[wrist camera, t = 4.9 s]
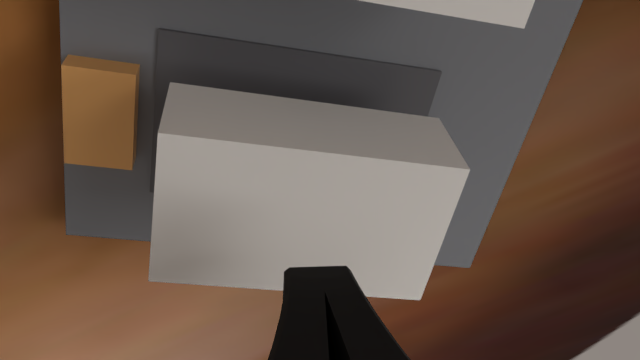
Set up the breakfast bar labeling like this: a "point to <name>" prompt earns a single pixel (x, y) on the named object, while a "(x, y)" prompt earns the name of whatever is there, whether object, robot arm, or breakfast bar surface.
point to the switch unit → (293, 87)
